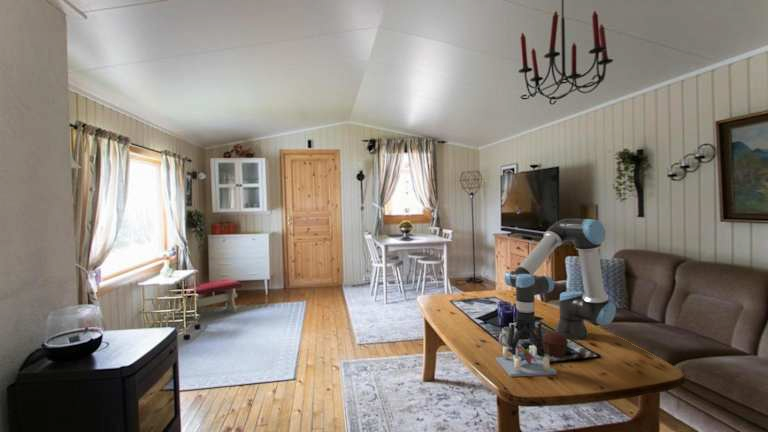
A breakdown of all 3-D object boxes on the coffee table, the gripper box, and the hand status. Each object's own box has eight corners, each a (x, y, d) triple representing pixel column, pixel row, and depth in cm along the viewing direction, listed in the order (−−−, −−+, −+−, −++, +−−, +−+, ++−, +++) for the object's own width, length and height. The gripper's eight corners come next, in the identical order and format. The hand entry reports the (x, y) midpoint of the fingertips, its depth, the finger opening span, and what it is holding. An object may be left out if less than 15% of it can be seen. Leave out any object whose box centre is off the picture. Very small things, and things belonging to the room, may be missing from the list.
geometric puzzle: (540, 359, 156) (531, 341, 160) (530, 363, 152) (521, 344, 156) (529, 364, 161) (519, 346, 165) (519, 368, 157) (510, 350, 161)
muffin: (554, 347, 179) (554, 327, 179) (573, 355, 169) (573, 334, 169) (535, 351, 175) (535, 330, 175) (554, 360, 165) (554, 338, 164)
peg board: (538, 357, 167) (538, 344, 167) (557, 374, 151) (557, 359, 151) (495, 359, 166) (495, 346, 166) (510, 376, 150) (510, 362, 150)
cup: (520, 348, 178) (520, 330, 178) (504, 352, 174) (504, 333, 174) (510, 343, 185) (510, 326, 184) (494, 346, 181) (494, 328, 181)
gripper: (543, 306, 162) (543, 356, 163) (498, 308, 161) (498, 358, 162) (552, 311, 155) (552, 364, 155) (505, 313, 153) (505, 366, 154)
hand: (525, 361), depth 158 cm, fingers closed on geometric puzzle, 8 cm apart
